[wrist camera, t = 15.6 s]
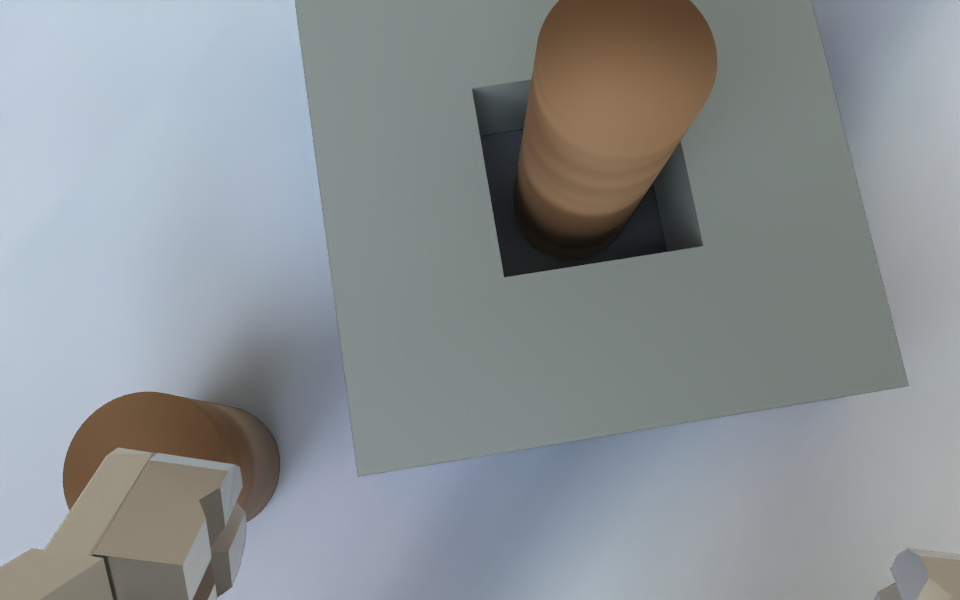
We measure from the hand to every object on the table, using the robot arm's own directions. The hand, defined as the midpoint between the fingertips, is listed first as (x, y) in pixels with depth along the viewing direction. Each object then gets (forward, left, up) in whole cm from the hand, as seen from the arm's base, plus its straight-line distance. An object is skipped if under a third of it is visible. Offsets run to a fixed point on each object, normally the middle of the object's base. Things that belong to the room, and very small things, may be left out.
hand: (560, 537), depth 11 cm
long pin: (+9, -4, -17) cm, 20 cm away
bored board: (+9, -4, -17) cm, 20 cm away
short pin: (+2, +9, -17) cm, 20 cm away
